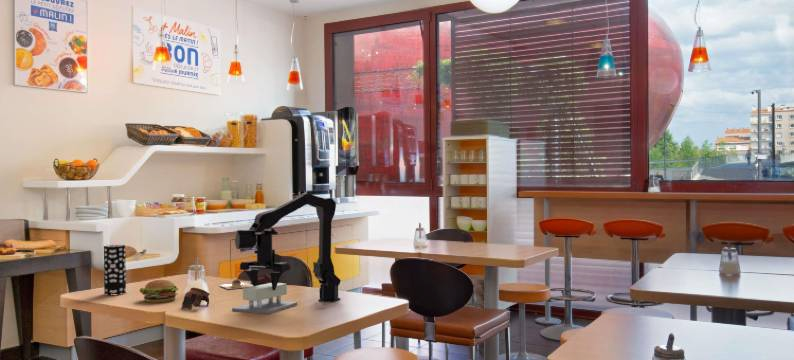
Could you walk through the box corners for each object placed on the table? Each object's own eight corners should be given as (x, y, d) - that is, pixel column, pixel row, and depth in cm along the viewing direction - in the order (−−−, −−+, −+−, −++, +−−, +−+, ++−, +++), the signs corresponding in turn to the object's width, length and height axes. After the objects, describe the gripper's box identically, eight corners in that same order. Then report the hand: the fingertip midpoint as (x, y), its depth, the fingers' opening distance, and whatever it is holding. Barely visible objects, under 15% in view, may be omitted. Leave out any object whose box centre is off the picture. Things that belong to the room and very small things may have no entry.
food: (172, 295, 274) (172, 276, 274) (181, 300, 262) (181, 280, 262) (137, 299, 266) (137, 279, 266) (145, 304, 254) (144, 284, 254)
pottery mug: (176, 308, 250) (185, 287, 253) (200, 317, 253) (208, 296, 257) (185, 304, 240) (194, 283, 243) (209, 314, 243) (217, 293, 247)
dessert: (254, 288, 292) (254, 277, 292) (227, 291, 285) (227, 280, 285) (244, 284, 302) (244, 274, 302) (218, 287, 295) (218, 276, 295)
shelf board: (286, 294, 251) (286, 283, 250) (255, 301, 237) (255, 290, 237) (273, 292, 254) (273, 282, 254) (242, 299, 241) (242, 288, 241)
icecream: (257, 278, 276) (285, 276, 288) (246, 272, 281) (274, 271, 293) (254, 294, 277) (281, 292, 289) (243, 287, 281) (270, 286, 293)
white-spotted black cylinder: (130, 293, 280) (129, 245, 280) (112, 296, 273) (111, 247, 273) (117, 291, 285) (117, 244, 285) (100, 294, 278) (99, 246, 278)
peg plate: (297, 304, 251) (297, 294, 251) (269, 314, 234) (268, 302, 234) (261, 301, 257) (261, 291, 257) (232, 310, 241) (231, 299, 241)
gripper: (298, 245, 249) (298, 287, 249) (256, 244, 257) (257, 284, 257) (281, 249, 239) (281, 292, 239) (238, 247, 247) (239, 289, 247)
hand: (265, 289), depth 246 cm, fingers open, 8 cm apart
